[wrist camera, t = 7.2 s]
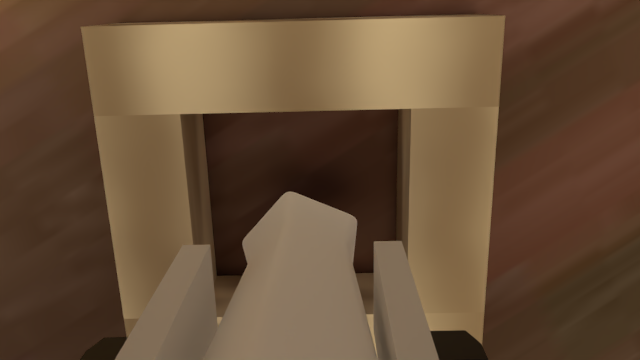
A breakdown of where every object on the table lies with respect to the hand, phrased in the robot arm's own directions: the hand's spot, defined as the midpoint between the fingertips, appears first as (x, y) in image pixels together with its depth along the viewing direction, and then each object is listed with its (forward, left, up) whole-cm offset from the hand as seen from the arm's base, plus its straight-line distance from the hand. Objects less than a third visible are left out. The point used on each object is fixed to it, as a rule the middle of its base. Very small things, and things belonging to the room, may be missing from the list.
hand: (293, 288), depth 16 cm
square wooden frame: (0, 0, -9) cm, 9 cm away
